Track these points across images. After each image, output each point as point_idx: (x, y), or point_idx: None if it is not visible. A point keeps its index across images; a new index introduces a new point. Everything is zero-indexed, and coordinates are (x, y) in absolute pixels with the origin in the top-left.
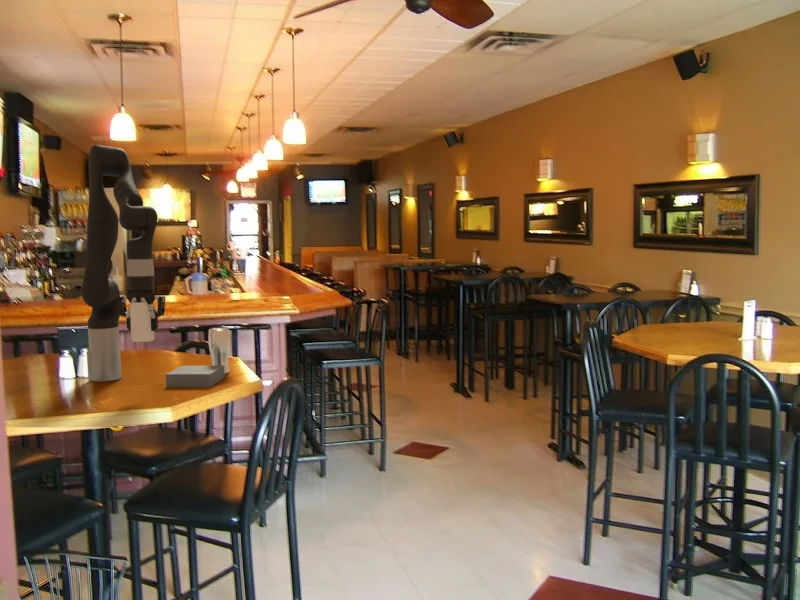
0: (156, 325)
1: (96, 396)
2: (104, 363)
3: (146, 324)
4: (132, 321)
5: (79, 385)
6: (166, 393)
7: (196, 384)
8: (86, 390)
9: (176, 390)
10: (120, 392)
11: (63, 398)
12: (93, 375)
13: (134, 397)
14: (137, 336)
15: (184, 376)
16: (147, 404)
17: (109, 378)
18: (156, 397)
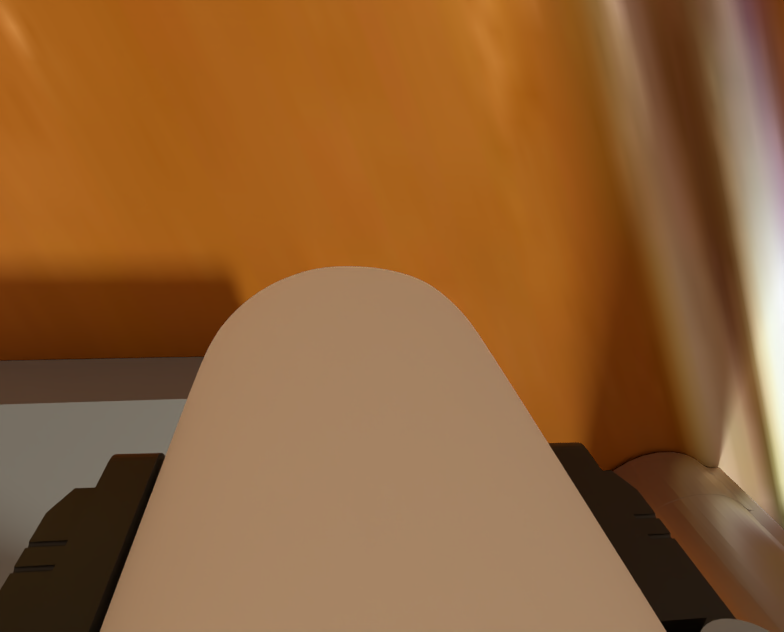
0: (31, 555)
1: (592, 122)
2: (694, 526)
3: (188, 470)
4: (540, 475)
5: (742, 387)
6: (169, 188)
7: (52, 367)
8: (685, 279)
9: (145, 271)
10: (481, 225)
11: (770, 77)
12: (711, 476)
13: (338, 76)
14: (369, 294)
15: (117, 393)
16: None
17: (625, 475)
18: (179, 66)
